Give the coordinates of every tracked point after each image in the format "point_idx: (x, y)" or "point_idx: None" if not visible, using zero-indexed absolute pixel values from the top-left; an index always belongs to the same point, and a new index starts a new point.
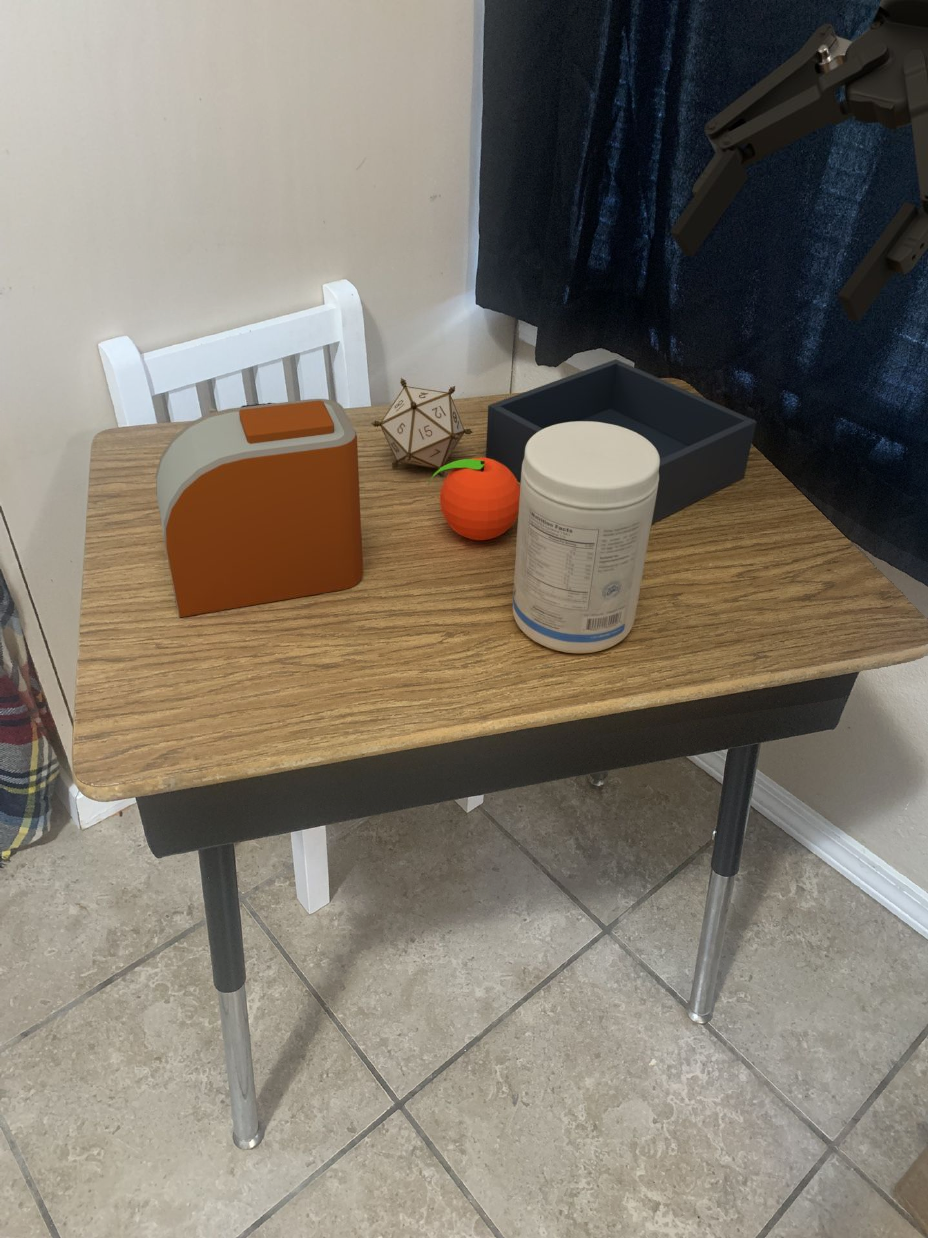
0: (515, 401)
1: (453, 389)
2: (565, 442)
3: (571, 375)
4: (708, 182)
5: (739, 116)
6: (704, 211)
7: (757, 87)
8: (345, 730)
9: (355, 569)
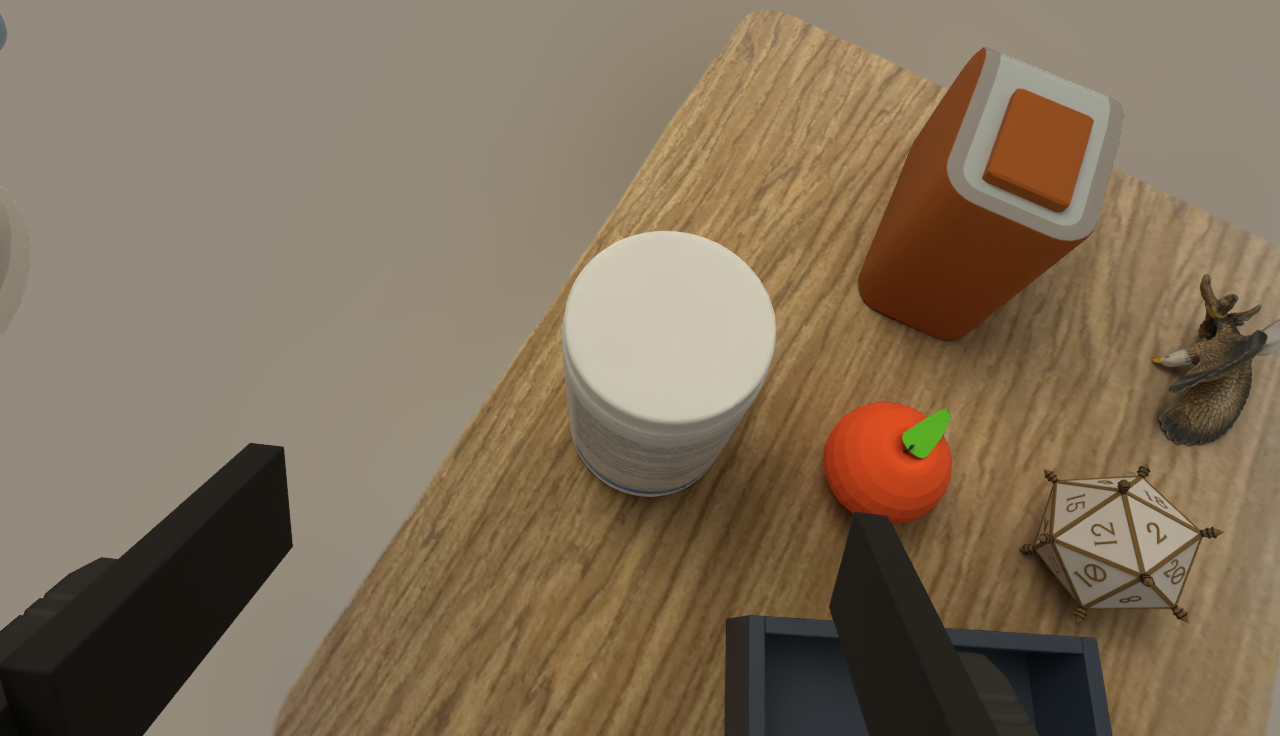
0: (1088, 697)
1: (1144, 579)
2: (719, 314)
3: None
4: (934, 643)
5: None
6: (875, 623)
7: None
8: (676, 151)
9: (866, 279)
